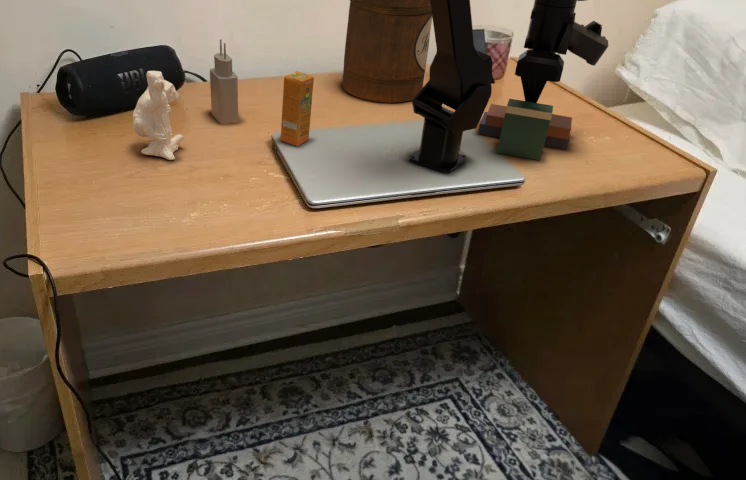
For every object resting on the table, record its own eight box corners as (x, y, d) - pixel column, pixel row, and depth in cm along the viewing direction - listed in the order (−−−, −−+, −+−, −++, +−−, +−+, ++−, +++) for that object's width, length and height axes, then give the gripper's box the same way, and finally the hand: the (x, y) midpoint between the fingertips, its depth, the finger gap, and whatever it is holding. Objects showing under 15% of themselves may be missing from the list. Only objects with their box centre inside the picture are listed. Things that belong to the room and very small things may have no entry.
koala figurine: (188, 162, 91) (182, 77, 85) (137, 166, 90) (128, 78, 83) (181, 138, 98) (176, 57, 91) (134, 141, 96) (125, 58, 90)
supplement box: (299, 147, 98) (301, 80, 93) (280, 141, 100) (281, 75, 94) (311, 140, 101) (314, 75, 95) (292, 134, 102) (294, 69, 96)
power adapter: (220, 124, 103) (218, 46, 97) (210, 112, 107) (207, 36, 101) (239, 122, 105) (238, 45, 98) (228, 110, 109) (226, 35, 102)
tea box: (504, 121, 105) (510, 90, 98) (546, 128, 104) (555, 97, 97) (495, 159, 103) (500, 130, 96) (538, 167, 102) (546, 138, 94)
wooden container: (434, 102, 118) (455, -31, 106) (355, 104, 115) (367, -33, 102) (405, 75, 130) (420, -47, 118) (332, 77, 126) (341, -49, 114)
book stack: (482, 121, 112) (486, 101, 110) (567, 136, 109) (573, 116, 107) (477, 134, 107) (481, 113, 105) (566, 150, 104) (572, 129, 102)
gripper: (615, 25, 85) (582, 139, 93) (612, -2, 100) (584, 98, 108) (527, 13, 87) (503, 125, 96) (537, -12, 102) (515, 87, 111)
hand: (530, 108), depth 103 cm, fingers closed
